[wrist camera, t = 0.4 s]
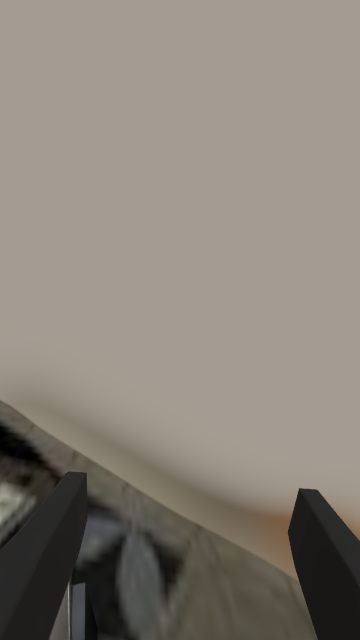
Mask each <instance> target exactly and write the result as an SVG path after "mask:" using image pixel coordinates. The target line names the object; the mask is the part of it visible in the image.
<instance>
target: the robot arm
mask: <svg viewBox="0 0 360 640" xmlns="http://www.w3.org/2000/svg"><path fill="white" fill-rule="evenodd" d="M86 522H87V473H82V472H67V473H66V474H65V475H64V476H63V478H62V479H61V480H60V482H59V483H58V484H57V486H56V487H55V488H54V490H53V491H52V492H51V493H50V495H49V496H48V497H47V498H46V500H45V501H44V502H43V503H42V505H41V506H40V507H39V508H38V509H37V511H36V512H35V513H34V514H33V515H32V516H31V518H30V519H29V520H28V521H27V522H26V523H25V525H24V526H23V527H22V528H21V529H20V530H19V531H18V532H17V533H16V535H15V536H14V537H13V538H12V539H11V540H10V541H9V542H8V543H7V544H6V545H5V546H4V547H3V548H2V549H1V550H0V640H49V638H50V635H51V632H52V629H53V626H54V623H55V620H56V617H57V615H58V612H59V609H60V606H61V603H62V600H63V597H64V595H65V592H66V589H67V586H68V583H69V580H70V577H71V574H72V572H73V569H74V566H75V563H76V560H77V557H78V554H79V551H80V547H81V543H82V539H83V535H84V530H85V526H86ZM288 535H289V541H290V546H291V551H292V555H293V560H294V564H295V569H296V572H297V575H298V578H299V582H300V585H301V588H302V591H303V594H304V598H305V601H306V604H307V607H308V610H309V613H310V616H311V619H312V623H313V626H314V629H315V632H316V635H317V638H318V640H360V541H359V540H358V539H357V538H356V536H355V535H354V534H353V533H352V532H351V530H350V529H349V528H348V527H347V526H346V524H345V523H344V522H343V521H342V519H340V517H339V516H338V515H337V513H336V512H335V511H334V510H333V508H332V507H331V506H330V505H329V504H328V502H327V501H326V500H325V499H324V497H323V496H322V495H321V494H320V493H319V491H318V490H315V489H301V488H300V489H299V491H298V495H297V499H296V503H295V507H294V510H293V514H292V518H291V522H290V526H289V530H288Z"/></svg>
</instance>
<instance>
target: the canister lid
mask: <svg viewBox="0 0 360 640" xmlns="http://www.w3.org/2000/svg"><path fill="white" fill-rule="evenodd" d="M49 640H72V597H71V577H70V580H69V583H68V586H67V589H66V592H65V595H64V597H63V600H62V603H61V606H60V609H59V612H58V615H57V617H56V620H55V623H54V626H53V629H52V632H51V635H50V638H49Z"/></svg>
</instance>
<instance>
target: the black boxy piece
mask: <svg viewBox="0 0 360 640" xmlns="http://www.w3.org/2000/svg"><path fill="white" fill-rule="evenodd" d="M71 597H72V640H97V626H96V621H95V617H94V613H93V609H92V605H91V601H90V597H89V593H88V589H87V585H86V582H85V583H81V584H76V585H73V586H71Z"/></svg>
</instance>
